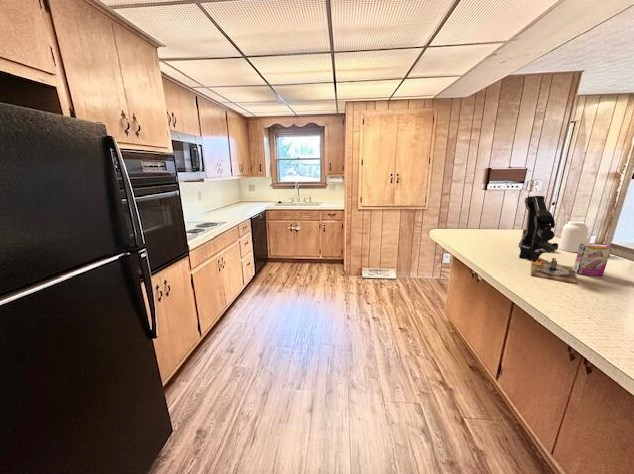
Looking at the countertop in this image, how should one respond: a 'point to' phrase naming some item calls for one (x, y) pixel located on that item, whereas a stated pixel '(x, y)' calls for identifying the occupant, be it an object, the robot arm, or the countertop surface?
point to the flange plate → (546, 268)
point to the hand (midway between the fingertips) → (534, 262)
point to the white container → (573, 236)
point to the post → (553, 265)
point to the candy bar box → (591, 259)
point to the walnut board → (567, 279)
